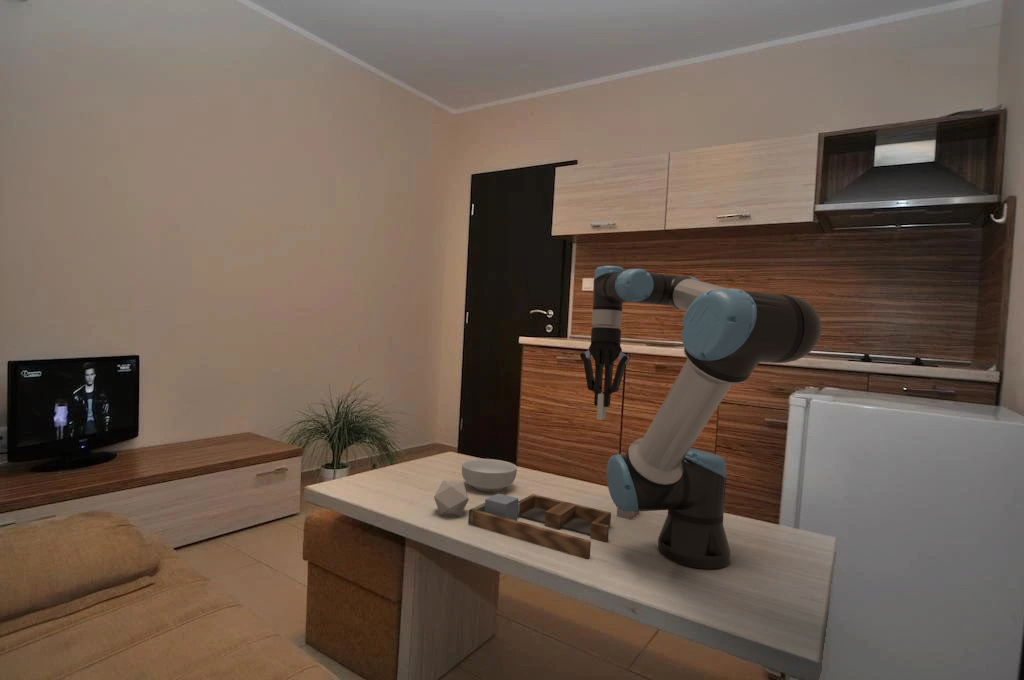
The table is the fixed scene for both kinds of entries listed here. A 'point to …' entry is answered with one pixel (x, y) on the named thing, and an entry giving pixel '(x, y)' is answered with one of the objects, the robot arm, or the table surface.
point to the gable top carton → (626, 514)
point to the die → (451, 498)
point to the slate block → (502, 506)
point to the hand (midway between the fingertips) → (601, 419)
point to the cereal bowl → (488, 474)
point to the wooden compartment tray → (549, 524)
